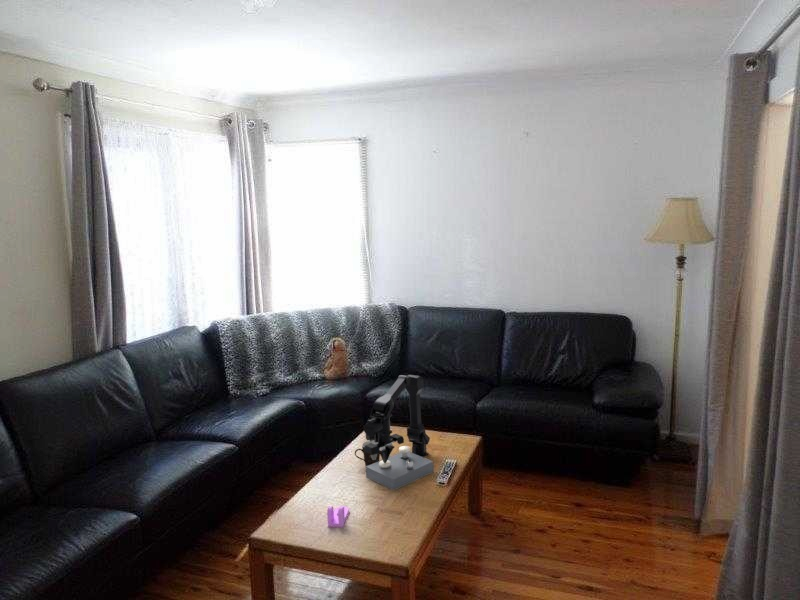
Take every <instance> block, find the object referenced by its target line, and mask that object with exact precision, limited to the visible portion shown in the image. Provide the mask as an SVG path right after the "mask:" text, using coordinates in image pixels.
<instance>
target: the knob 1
mask: <svg viewBox="0 0 800 600" xmlns="http://www.w3.org/2000/svg"><path fill="white" fill-rule="evenodd" d="M381 460H382V459H381ZM379 461H380V460H379ZM390 466H391V461H389V460H387V462H386V463H384V462H383V460H382V461H380V462H379V467H381V468H384V469H385V468H388V467H390Z"/></svg>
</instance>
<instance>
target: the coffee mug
mask: <svg viewBox="0 0 800 600" xmlns="http://www.w3.org/2000/svg"><path fill="white" fill-rule="evenodd" d="M370 443H373V444H375V445H376V444H378V442H374V441H370V440H366V441H364V442H362V443H361V446H362V448H356V450H355V451H354V456H355V457H356V458H357V459H359V460H361V461H363V462H364V464H365V467H366V466H368V465H371V464H373V463H376V462H378V461H380V460H381V459H380V457H381V455H380V453H379V452H378V453H377V454H374V455H371V454H369V453H367V452H364V446H365V445H367V444H370ZM358 451H361V453H362V455H363V458H361V457H359V456H358V455H357V452H358Z"/></svg>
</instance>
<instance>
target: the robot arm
mask: <svg viewBox="0 0 800 600" xmlns="http://www.w3.org/2000/svg"><path fill="white" fill-rule="evenodd" d="M423 388H424V378H423V377H422V376H420V375H414V374H408V375H405V374H404V375H403V374H400V375H398V377H397V379H396V381H395V382H394V383H393V384H392V385H391V387H390V388H389V389H388V390H387V392H386V393H385V394H384V395H381V396H379V397H378V398H377V399H376V400H375V401H374V403H373V406H372V408H371V410H370V411H371V412H370V414H369V418H370V419H368V420H366V423H365V424H364V425H363V432H364V434H365V440H366V441H374V442H378V444H376V445H375V444H373V443H370V444H367V445H365V446H364V452H367V453H369V454H371V455H374V454H377V453H378V452H379V453H380V457H381V460H383V462H384V463H386V462H387V460H388V458H389V457H390V456H391V453H392V451H393V449H395V446H393V443H396V442H397V444H398V445H401V444H404V443H405V438H404V436H403V435H401V434H400V435H399V434H397V433H394V434H392V433H393V430H391V420H390V418H391V417H393V414H392V413H391V412H392V411H393V409H394V407H395V406H394V405H395V404H394V403H395V402H396V400H397V399H398V397H399V396H400V395H401V393H403V391H404V390H406V392H407V393H408V395H409V413H410V414H409V415H410V423H409V426H408V427H406V436H407V438H408V442H409V443H412V444H411V445H412V446H411V453H414V454H416V455H419V456H421V457H425V456H428V455H430V453H429V452H427V445H429V443H430V437H429V435H428V434H427V433H426V432H427V431H426V428H425V426H424V424H423V423H422V411H421V410H422V409H421V392H422V391H423Z"/></svg>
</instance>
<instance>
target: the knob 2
mask: <svg viewBox="0 0 800 600" xmlns="http://www.w3.org/2000/svg"><path fill="white" fill-rule="evenodd" d="M409 452H411V447H410V446H408V445H403V446H402V445H401V446H399V447H398V453H402V458H407V457H408V454H407V453H409Z"/></svg>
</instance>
